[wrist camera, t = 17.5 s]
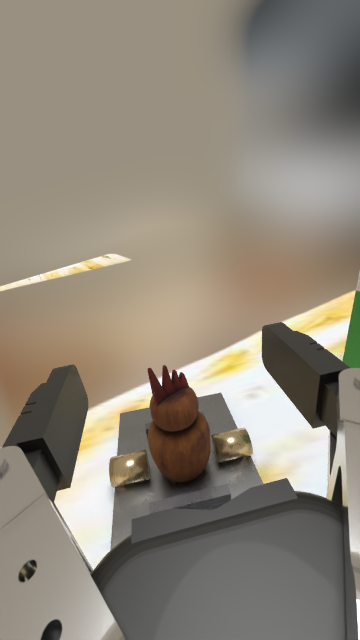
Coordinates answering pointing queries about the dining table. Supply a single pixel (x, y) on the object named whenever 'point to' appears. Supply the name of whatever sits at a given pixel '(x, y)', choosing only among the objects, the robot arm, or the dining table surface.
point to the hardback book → (354, 334)
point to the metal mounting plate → (162, 493)
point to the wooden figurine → (177, 428)
